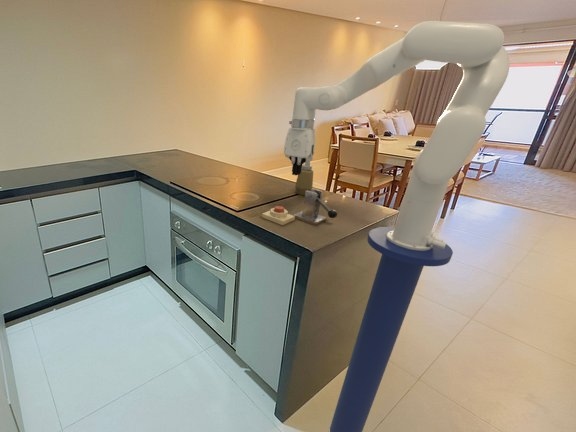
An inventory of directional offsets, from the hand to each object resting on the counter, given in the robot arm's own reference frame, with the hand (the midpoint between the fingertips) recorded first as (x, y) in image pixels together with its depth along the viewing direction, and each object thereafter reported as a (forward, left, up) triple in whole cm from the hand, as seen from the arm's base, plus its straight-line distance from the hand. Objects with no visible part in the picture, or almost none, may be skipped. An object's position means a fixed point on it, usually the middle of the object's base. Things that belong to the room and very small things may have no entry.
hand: (296, 174), depth 112 cm
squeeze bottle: (+14, -32, -18) cm, 39 cm away
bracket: (-5, -6, -18) cm, 20 cm away
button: (+3, +4, -15) cm, 16 cm away
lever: (-9, -6, -12) cm, 16 cm away
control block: (+3, +4, -18) cm, 19 cm away
